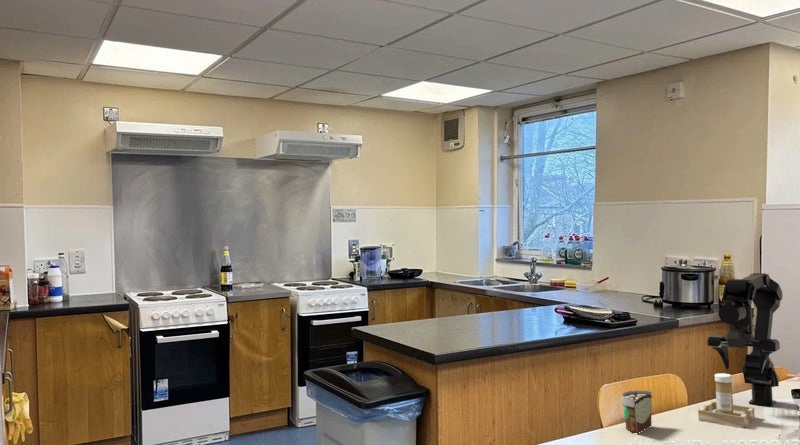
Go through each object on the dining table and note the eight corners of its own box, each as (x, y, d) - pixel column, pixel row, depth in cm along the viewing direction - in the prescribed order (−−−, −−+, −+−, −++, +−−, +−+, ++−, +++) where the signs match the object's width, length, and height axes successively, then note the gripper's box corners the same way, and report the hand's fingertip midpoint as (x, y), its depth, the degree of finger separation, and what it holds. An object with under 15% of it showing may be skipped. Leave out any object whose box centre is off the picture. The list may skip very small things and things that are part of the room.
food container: (633, 421, 183) (631, 387, 183) (653, 425, 178) (652, 391, 179) (614, 431, 174) (612, 396, 174) (635, 436, 170) (633, 400, 170)
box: (711, 411, 190) (710, 401, 190) (754, 417, 182) (754, 407, 182) (698, 420, 181) (698, 410, 181) (743, 428, 173) (742, 417, 173)
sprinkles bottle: (735, 419, 181) (733, 374, 181) (732, 423, 177) (729, 377, 178) (718, 416, 184) (716, 372, 184) (714, 420, 180) (712, 375, 181)
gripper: (700, 321, 187) (702, 372, 187) (769, 325, 174) (772, 380, 174) (711, 316, 195) (714, 365, 195) (778, 320, 182) (781, 373, 182)
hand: (744, 371), depth 186 cm, fingers open, 9 cm apart
